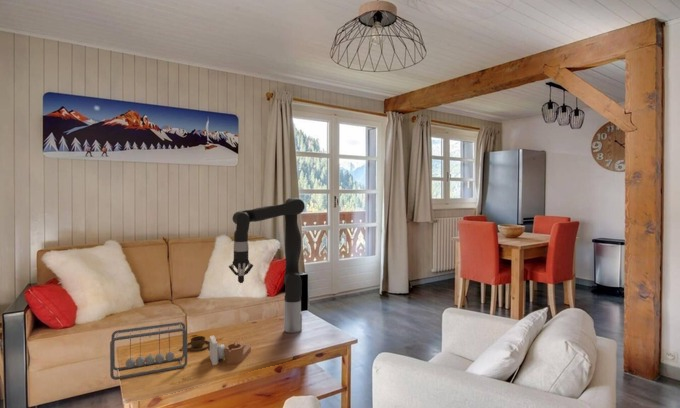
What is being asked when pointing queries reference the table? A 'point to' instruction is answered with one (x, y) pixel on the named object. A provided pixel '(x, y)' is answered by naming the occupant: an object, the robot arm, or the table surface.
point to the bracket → (236, 352)
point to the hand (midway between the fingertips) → (240, 282)
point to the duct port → (216, 351)
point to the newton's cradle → (149, 359)
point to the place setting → (197, 343)
